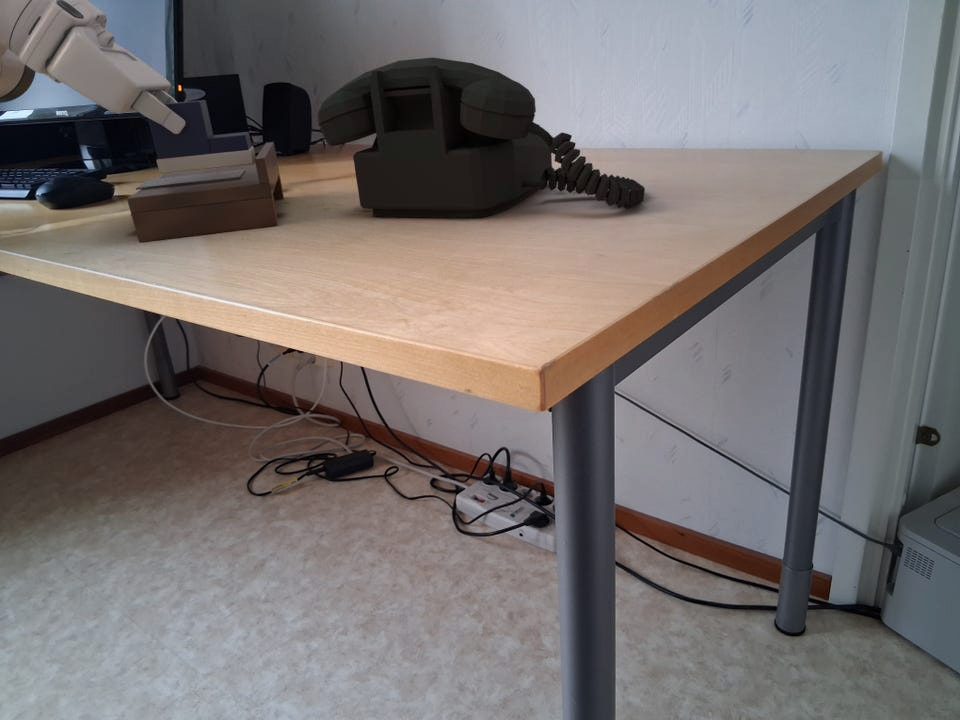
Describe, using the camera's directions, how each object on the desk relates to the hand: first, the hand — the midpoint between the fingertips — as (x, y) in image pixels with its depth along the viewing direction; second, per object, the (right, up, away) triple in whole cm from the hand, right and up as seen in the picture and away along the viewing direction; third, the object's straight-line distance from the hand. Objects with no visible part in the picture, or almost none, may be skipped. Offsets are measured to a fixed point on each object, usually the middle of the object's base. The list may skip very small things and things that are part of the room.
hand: (187, 127), depth 77 cm
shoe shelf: (+2, -9, +4) cm, 10 cm away
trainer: (+2, -4, +2) cm, 5 cm away
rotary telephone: (+35, -9, 0) cm, 36 cm away
